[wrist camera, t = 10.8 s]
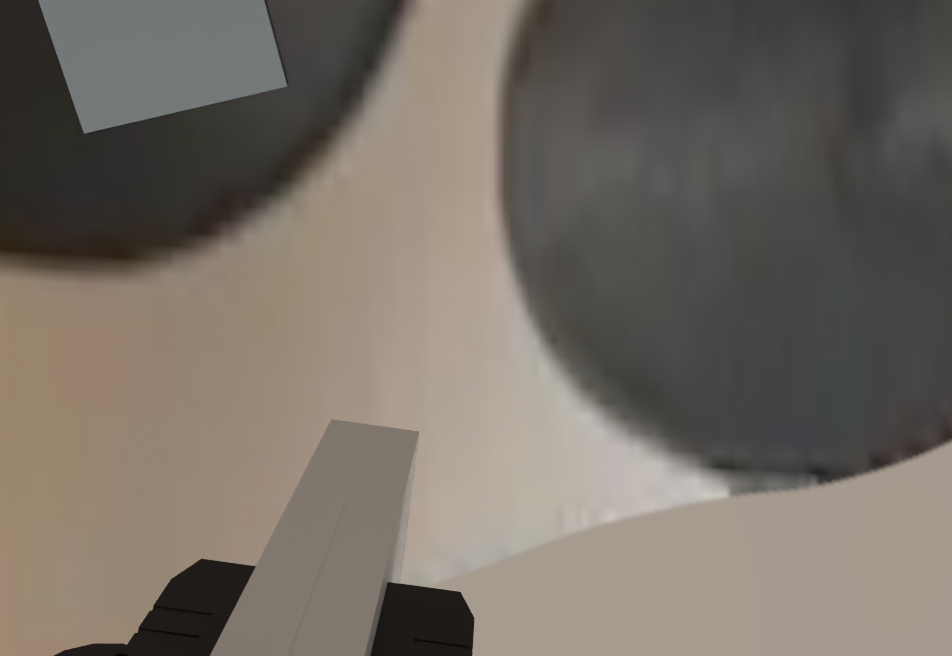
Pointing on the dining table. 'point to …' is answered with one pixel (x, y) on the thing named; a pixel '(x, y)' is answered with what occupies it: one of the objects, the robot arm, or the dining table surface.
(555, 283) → the dining table surface
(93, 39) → the t mat
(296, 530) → the robot arm
